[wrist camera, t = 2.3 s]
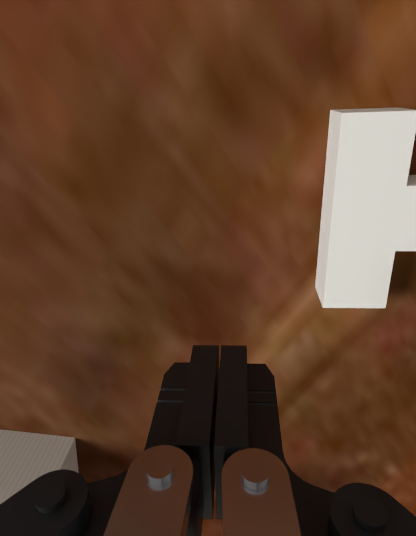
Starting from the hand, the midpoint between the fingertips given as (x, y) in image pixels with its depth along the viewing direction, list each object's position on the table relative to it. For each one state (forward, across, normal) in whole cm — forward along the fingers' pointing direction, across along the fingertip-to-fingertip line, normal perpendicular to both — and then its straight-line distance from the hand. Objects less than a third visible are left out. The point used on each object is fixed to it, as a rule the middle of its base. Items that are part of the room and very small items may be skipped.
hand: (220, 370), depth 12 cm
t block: (+17, -12, 0) cm, 21 cm away
